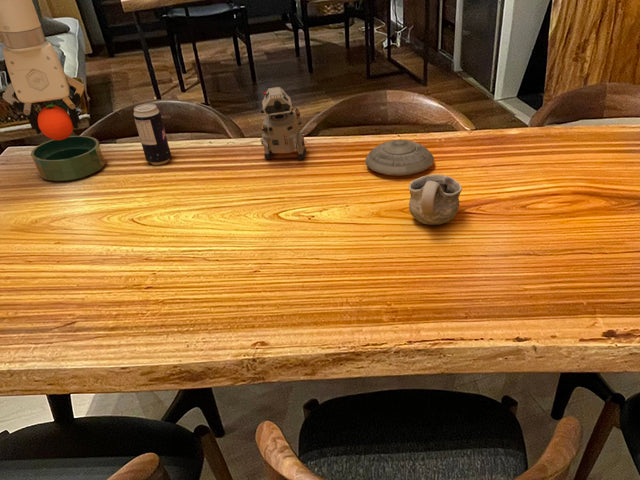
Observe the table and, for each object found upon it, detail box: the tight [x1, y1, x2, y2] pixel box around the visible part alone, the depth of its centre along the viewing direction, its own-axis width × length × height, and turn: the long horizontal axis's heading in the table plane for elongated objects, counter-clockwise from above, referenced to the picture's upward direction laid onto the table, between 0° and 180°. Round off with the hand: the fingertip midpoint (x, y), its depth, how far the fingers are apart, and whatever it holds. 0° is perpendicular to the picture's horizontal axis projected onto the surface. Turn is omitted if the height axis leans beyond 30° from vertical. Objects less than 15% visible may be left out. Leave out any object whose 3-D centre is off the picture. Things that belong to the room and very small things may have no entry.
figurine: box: [259, 86, 307, 161], centre depth 136 cm, size 9×12×15 cm
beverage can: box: [133, 103, 172, 166], centre depth 139 cm, size 6×6×12 cm
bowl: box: [30, 135, 106, 182], centre depth 139 cm, size 14×14×5 cm
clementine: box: [37, 104, 74, 140], centre depth 134 cm, size 8×7×7 cm
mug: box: [408, 174, 463, 226], centre depth 113 cm, size 10×12×10 cm
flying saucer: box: [364, 139, 435, 177], centre depth 135 cm, size 15×15×6 cm
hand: (57, 128), depth 135 cm, fingers closed on clementine, 7 cm apart
